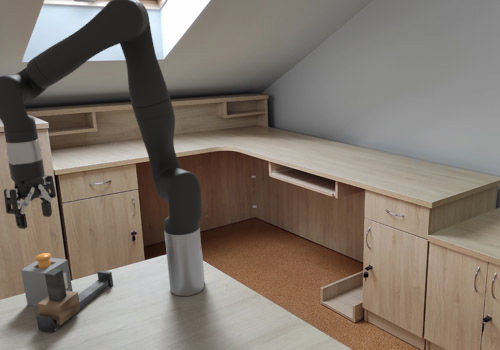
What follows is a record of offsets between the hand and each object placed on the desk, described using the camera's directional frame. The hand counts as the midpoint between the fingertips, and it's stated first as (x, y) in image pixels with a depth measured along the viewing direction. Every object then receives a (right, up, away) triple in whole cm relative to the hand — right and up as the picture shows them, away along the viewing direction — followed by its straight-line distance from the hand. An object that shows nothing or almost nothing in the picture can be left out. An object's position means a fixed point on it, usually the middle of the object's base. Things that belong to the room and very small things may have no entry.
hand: (35, 222), depth 119 cm
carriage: (+8, -24, -2) cm, 25 cm away
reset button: (0, -15, +6) cm, 16 cm away
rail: (+10, -22, +3) cm, 24 cm away
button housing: (+1, -21, +8) cm, 23 cm away
